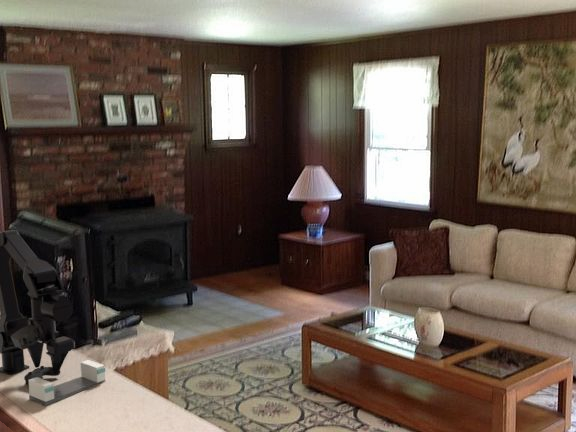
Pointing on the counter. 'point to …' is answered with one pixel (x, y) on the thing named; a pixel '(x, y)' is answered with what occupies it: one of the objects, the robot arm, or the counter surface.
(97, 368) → the mounted modules
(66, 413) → the counter surface
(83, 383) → the rail plate
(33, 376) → the game controller
